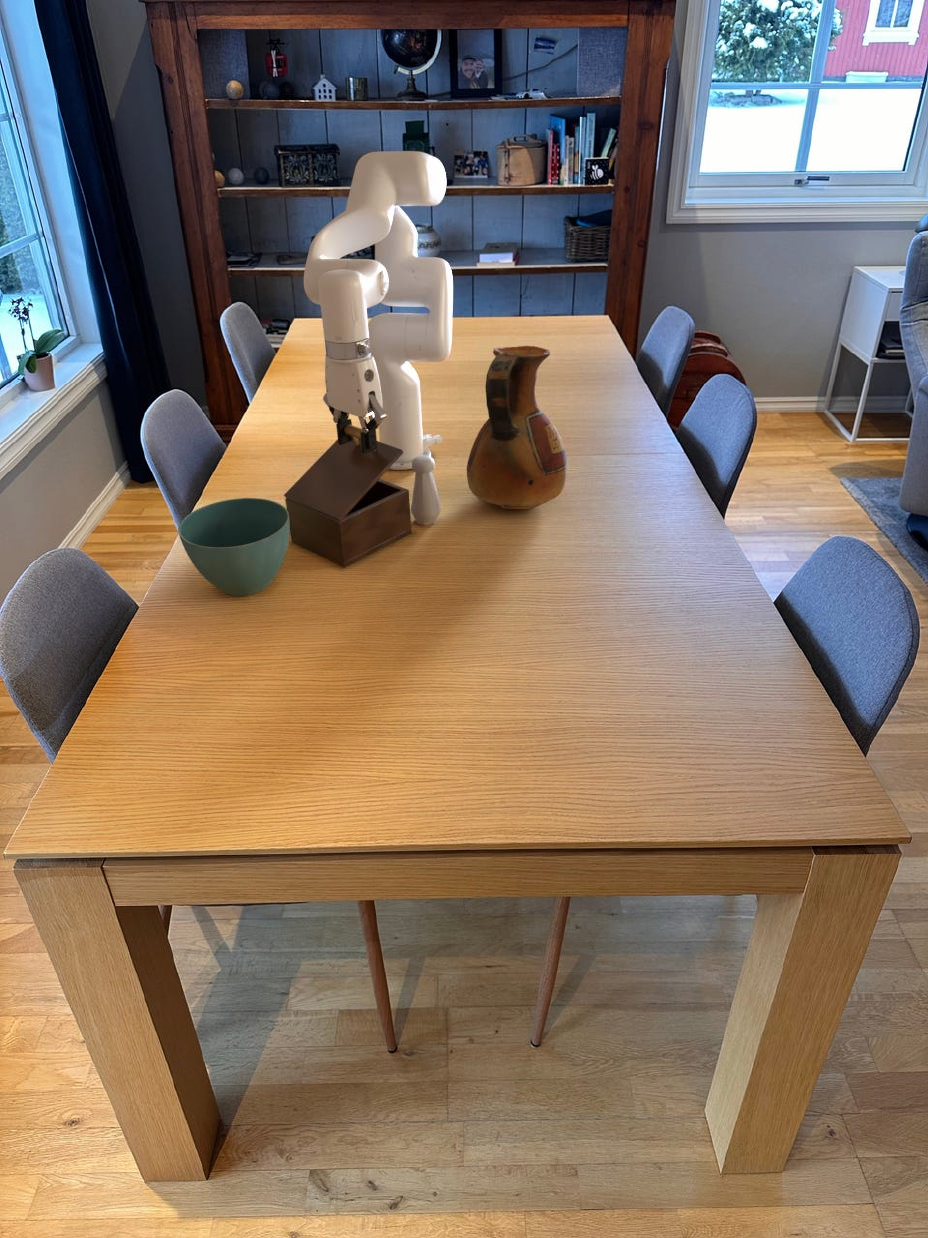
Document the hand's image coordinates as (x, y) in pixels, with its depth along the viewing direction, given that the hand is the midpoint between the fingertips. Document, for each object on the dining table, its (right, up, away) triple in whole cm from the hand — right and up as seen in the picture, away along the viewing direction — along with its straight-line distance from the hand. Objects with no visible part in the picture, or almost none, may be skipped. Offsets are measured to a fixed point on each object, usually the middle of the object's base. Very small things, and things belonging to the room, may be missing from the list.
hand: (357, 445), depth 167 cm
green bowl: (-19, -25, -6) cm, 32 cm away
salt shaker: (+12, -12, +12) cm, 21 cm away
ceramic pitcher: (+30, -7, +20) cm, 36 cm away
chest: (-2, -16, +7) cm, 18 cm away
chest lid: (-3, -5, 0) cm, 6 cm away
